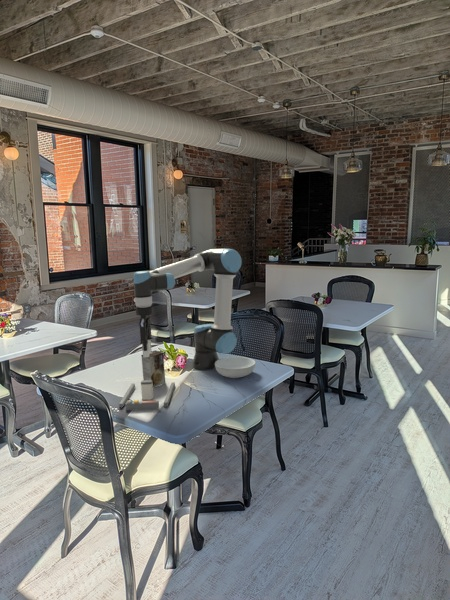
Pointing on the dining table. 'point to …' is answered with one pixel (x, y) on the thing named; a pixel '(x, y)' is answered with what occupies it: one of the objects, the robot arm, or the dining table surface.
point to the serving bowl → (235, 366)
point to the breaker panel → (144, 404)
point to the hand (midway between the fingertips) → (147, 355)
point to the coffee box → (154, 368)
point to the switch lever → (147, 389)
